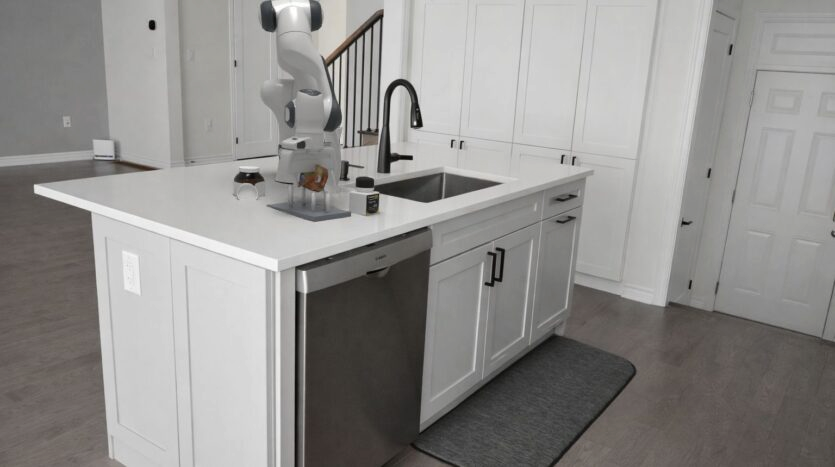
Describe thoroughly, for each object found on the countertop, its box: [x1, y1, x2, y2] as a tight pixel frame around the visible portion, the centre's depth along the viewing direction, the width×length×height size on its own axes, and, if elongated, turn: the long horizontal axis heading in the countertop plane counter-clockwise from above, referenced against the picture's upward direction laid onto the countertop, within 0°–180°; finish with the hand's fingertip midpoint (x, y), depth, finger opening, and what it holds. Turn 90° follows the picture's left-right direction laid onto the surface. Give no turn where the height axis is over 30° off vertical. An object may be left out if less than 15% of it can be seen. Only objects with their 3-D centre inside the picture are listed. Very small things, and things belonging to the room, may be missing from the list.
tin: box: [299, 164, 328, 193], centre depth 200 cm, size 15×3×8 cm, turn 33°
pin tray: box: [265, 185, 352, 223], centre depth 201 cm, size 15×24×8 cm, turn 49°
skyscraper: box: [323, 125, 343, 195], centre depth 230 cm, size 8×8×28 cm
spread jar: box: [232, 165, 266, 201], centre depth 214 cm, size 12×11×12 cm
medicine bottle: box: [348, 175, 380, 217], centre depth 205 cm, size 7×7×12 cm
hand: (308, 186), depth 200 cm, fingers open, 8 cm apart
